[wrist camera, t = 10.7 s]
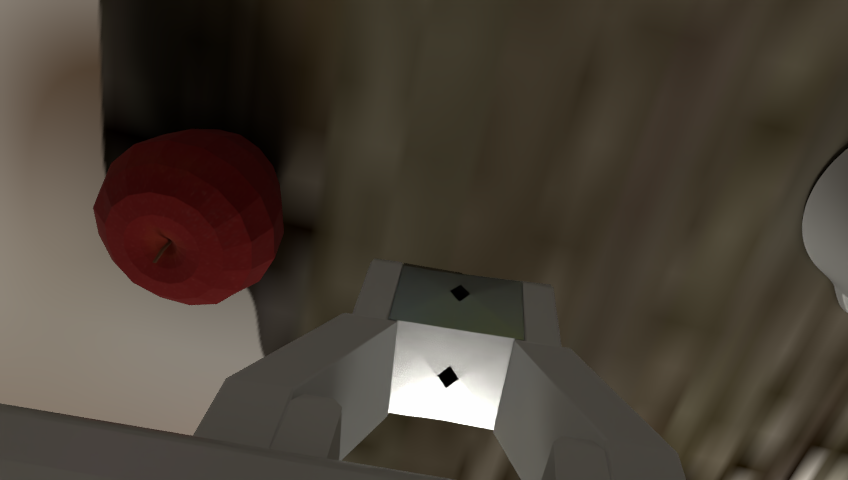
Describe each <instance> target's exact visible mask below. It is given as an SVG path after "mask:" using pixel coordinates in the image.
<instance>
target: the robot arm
mask: <svg viewBox="0 0 848 480" xmlns="http://www.w3.org/2000/svg"><path fill="white" fill-rule="evenodd" d="M802 234H803V240H804V245H805V248H806V250H807V253H808V255H809V256H810V258H811V260H812V261H813V263H814V264H815V265H816V266H817V267H818V268H819V269H820V270H821V271H822V272H823V273H824V274H825V275H826V276H827V277H828V278H829V279H830V280H831V281H832V283H833V284H834V287H835V292H836V296H837V299H838V302H839V304H840V306H841V307H842V309H844V310H845V311H846V312H847V313H848V149H846V150H845V151H844V152H843V153H842V154H841V155H840V156H838V157H837V158H836V159H835V160H834V161H833V162H832V164H831V165H830V166H829V167H828V168H827V169H826V171H825V172H824V173H823V174H822V176H821V177H820V179H819V180H818V181H817V183H816V185H815V186H814V188H813V190H812V192H811V194H810V196H809V199H808V201H807V204H806V207H805V211H804V215H803V222H802ZM388 413H395V414H403V415H410V416H417V417H425V418H432V419H439V420H445V421H450V422H455V423H461V424H466V425H471V426H476V427H482V428H487V429H492V430H494V431H493V433H494V434H495V436H496V438H497V439H498V441H499V443H500V445H501V446H502V448H503V450H504V451H505V453H506V455H507V456H508V458H509V460H510V462H511V463H512V465H513V467H514V468H515V470H516V472H517V474H518V475H519V477H520V479H521V480H686V478H685V475H684V472H683V469H682V466H681V462H680V459H679V456H678V453H677V452H676V451H675V450H674V449H673V448H672V447H671V446H670V445H669V444H668V443H667V442H666V441H665V440H664V439H663V438H662V437H661V436H660V435H659V434H658V433H657V432H655V431H654V430H653V429H652V428H651V427H650V426H649V425H648V424H647V423H646V422H645V421H644V420H643V419H642V418H641V417H640V416H639V415H638V414H637V413H636V412H635V411H634V410H633V409H632V408H631V407H630V406H629V405H628V404H627V403H626V402H625V401H624V400H623V399H622V398H621V397H620V396H619V395H618V394H617V393H616V392H615V391H613V390H612V389H611V388H610V387H609V386H608V385H607V384H606V383H605V382H604V381H603V380H602V379H601V378H600V377H599V376H598V375H597V374H596V373H595V372H594V371H593V370H592V369H591V368H590V367H589V366H588V365H587V364H586V363H585V362H584V361H583V360H582V359H581V358H580V357H579V356H578V355H577V354H576V353H575V352H574V351H573V350H572V349H570V348H565V347H561V340H560V332H559V325H558V317H557V310H556V303H555V295H554V288H553V287H552V286H551V285H550V284H541V283H532V282H524V281H514V280H506V279H498V278H490V277H482V276H475V275H467V274H462V273H460V272H454V271H448V270H442V269H436V268H431V267H425V266H419V265H413V264H407V263H404V264H403V263H402V262H396V261H389V260H382V259H374V260H373V261H372V262H371V264H370V266H369V269H368V272H367V275H366V277H365V280H364V283H363V286H362V288H361V291H360V294H359V297H358V300H357V302H356V305H355V308H354V311H353V313H352V314H348V313H343V314H341V315H339V316H337V317H335V318H334V319H332V320H330V321H328V322H326V323H325V324H323V325H321V326H319V327H318V328H316V329H314V330H312V331H310V332H309V333H307V334H305V335H303V336H301V337H300V338H298V339H296V340H294V341H292V342H291V343H289V344H287V345H285V346H283V347H282V348H280V349H278V350H276V351H275V352H273V353H271V354H269V355H267V356H266V357H264V358H262V359H260V360H258V361H257V362H255V363H253V364H251V365H250V366H248V367H246V368H244V369H242V370H240V371H239V372H237V373H235V374H233V375H232V376H230V377H228V378H226V380H225V381H224V383H223V385H222V387H221V388H220V390H219V392H218V393H217V395H216V397H215V399H214V400H213V402H212V404H211V405H210V407H209V409H208V411H207V412H206V414H205V416H204V417H203V419H202V421H201V423H200V424H199V426H198V428H197V430H196V431H195V433H194V435H193V436H191V435H185V434H179V433H173V432H167V431H160V430H154V429H149V428H142V427H137V426H131V425H125V424H119V423H113V422H107V421H101V420H95V419H89V418H84V417H78V416H71V415H66V414H60V413H53V412H48V411H41V410H36V409H30V408H24V407H18V406H12V405H6V404H0V480H453V479H447V478H441V477H435V476H429V475H423V474H417V473H411V472H405V471H399V470H393V469H387V468H381V467H375V466H369V465H363V464H357V463H351V462H345V461H341V460H342V459H343V458H344V457H345V456H346V455H347V454H348V453H349V452H350V451H351V450H352V449H353V448H355V447H356V446H357V445H358V444H359V443H360V442H361V441H362V440H363V439H364V438H365V437H366V436H367V435H368V434H369V433H370V432H371V431H372V430H373V429H374V428H375V427H376V426H377V425H378V424H379V423H380V422H382V421H383V420H384V419H385V418H386V417H387V416H388Z"/></svg>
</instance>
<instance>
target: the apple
mask: <svg viewBox="0 0 848 480" xmlns="http://www.w3.org/2000/svg"><path fill="white" fill-rule="evenodd" d="M93 209H94V214H95V218H96V223H97V228H98V233H99V236H100V237H101V239H102V241H103V243H104V245H105V247H106V249H107V251H108V253H109V255H110V257H111V258H112V260H113V261H114V262H115V264H116V265H117V266H118V267H119V268H120V269H121V270H122V271H123V272H124V273H125V274H126V275H127V276H128V278H129V279H130V280H131V281H132V282H133V283H135V284H137V285H139V286H141V287H143V288H144V289H146V290H148V291H150V292H152V293H154V294H156V295H158V296H159V297H162V298H166V299H169V300H173V301H177V302H180V303H184V304H188V305H201V304H217V303H219V302H221V301H223V300H224V299H226V298H228V297H230V296H231V295H233V294H235V293H237V292H239V291H241V290H242V289H245V288H247V287H249V286H251V285H252V284H254V283H256V282H258V281H260V279H261V278H262V276H263V275H264V273H265V272H266V270H267V269H268V267H269V266H270V264H271V263H272V261H273V259H274V258H275V255H276V253H277V250H278V247H279V244H280V241H281V239H282V236H283V233H284V231H283V215H282V202H281V192H280V185H279V182H278V179H277V176H276V173H275V170H274V167H273V165H272V164H271V163H270V161H269V160H268V159H267V158H266V156H265V155H264V154H263V152H262V151H261V150H260V148H258V147H257V146H255V145H254V144H253V143H251V142H250V141H248V140H247V139H246V138H244V137H243V136H242V135H240V134H235V133H231V132H227V131H223V130H219V129H188V130H184V131H179V132H174V133H169V134H164V135H161V136H158V137H155V138H152V139H149V140H146V141H143V142H140V143H137V144H134V145H133V146H132V147H131V148H129V149H128V150H127V151H126V152H124V153H123V154H122V155H121V156H120V157H118V158H117V159H116V160H115V161H113V162H112V163H111V165H110V168H109V170H108V172H107V175H106V177H105V179H104V182H103V184H102V187H101V189H100V192H99V194H98V197H97V199H96V202H95V204H94V207H93Z"/></svg>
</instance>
